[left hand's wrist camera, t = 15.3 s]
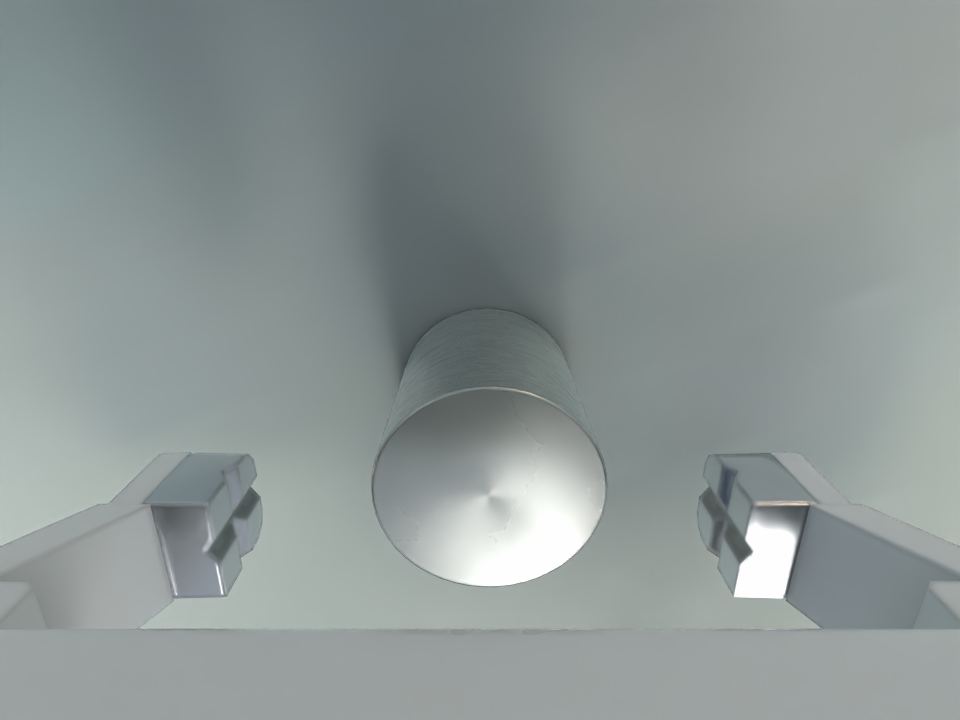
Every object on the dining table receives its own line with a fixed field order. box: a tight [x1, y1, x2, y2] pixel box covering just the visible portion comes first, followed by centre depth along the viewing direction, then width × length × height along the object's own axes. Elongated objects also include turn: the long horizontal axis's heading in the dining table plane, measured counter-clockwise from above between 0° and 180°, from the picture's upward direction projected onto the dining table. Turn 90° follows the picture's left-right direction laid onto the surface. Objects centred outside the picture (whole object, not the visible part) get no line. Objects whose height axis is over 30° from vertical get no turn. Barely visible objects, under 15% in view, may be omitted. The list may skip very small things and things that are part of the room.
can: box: [371, 309, 607, 587], centre depth 12 cm, size 4×4×5 cm
